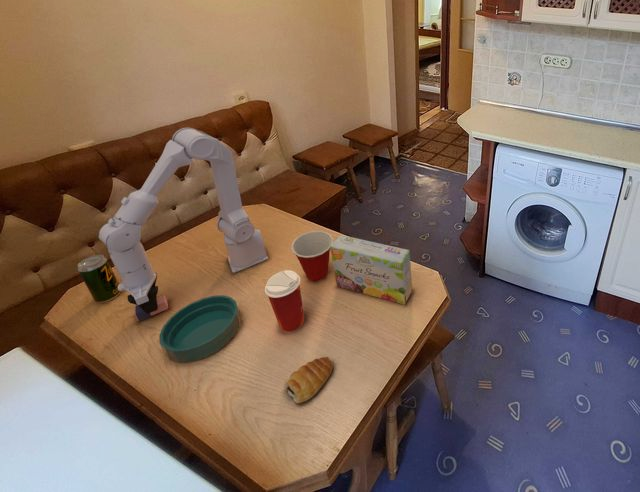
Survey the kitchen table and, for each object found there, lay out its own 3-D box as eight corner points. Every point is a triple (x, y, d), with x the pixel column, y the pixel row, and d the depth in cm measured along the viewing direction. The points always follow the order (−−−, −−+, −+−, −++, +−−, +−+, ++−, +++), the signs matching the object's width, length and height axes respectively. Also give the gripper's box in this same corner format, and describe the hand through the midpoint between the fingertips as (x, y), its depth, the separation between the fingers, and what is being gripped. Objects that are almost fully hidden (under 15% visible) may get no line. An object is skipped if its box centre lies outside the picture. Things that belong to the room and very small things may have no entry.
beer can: (92, 307, 92) (73, 271, 88) (97, 293, 97) (79, 258, 92) (120, 298, 95) (103, 263, 90) (123, 285, 99) (107, 251, 95)
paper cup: (315, 314, 92) (306, 273, 86) (293, 340, 85) (282, 297, 80) (291, 306, 94) (281, 265, 89) (267, 330, 87) (255, 287, 82)
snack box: (335, 288, 100) (328, 245, 94) (346, 274, 105) (340, 232, 99) (404, 306, 95) (402, 262, 89) (413, 290, 100) (411, 248, 94)
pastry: (321, 355, 82) (319, 344, 80) (340, 372, 78) (338, 361, 77) (282, 390, 75) (279, 378, 73) (301, 410, 71) (298, 398, 70)
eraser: (167, 301, 94) (164, 294, 93) (168, 309, 92) (165, 301, 91) (137, 313, 91) (134, 306, 90) (137, 321, 89) (134, 314, 88)
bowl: (234, 298, 96) (230, 286, 94) (247, 337, 86) (243, 324, 84) (163, 330, 87) (157, 317, 85) (168, 378, 76) (161, 364, 75)
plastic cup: (320, 293, 98) (313, 259, 93) (289, 282, 102) (282, 249, 97) (345, 267, 108) (340, 235, 103) (316, 257, 111) (310, 226, 106)
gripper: (111, 256, 88) (131, 297, 94) (109, 291, 78) (131, 334, 84) (148, 244, 92) (165, 283, 98) (151, 276, 82) (169, 318, 88)
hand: (152, 306), depth 91 cm, fingers closed on eraser, 3 cm apart
